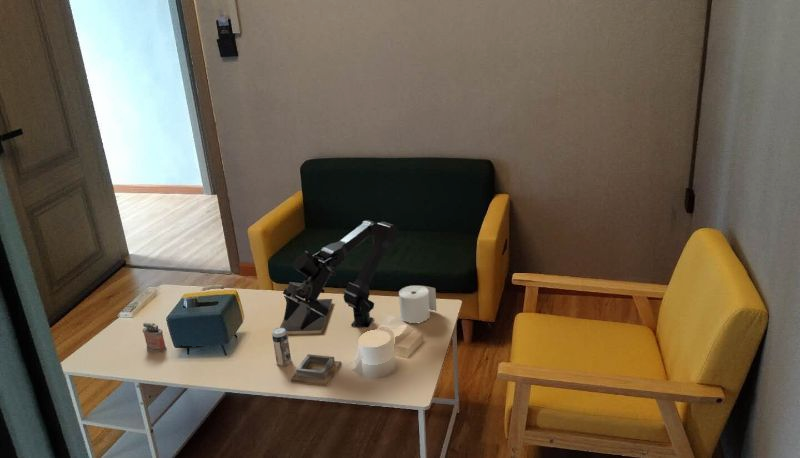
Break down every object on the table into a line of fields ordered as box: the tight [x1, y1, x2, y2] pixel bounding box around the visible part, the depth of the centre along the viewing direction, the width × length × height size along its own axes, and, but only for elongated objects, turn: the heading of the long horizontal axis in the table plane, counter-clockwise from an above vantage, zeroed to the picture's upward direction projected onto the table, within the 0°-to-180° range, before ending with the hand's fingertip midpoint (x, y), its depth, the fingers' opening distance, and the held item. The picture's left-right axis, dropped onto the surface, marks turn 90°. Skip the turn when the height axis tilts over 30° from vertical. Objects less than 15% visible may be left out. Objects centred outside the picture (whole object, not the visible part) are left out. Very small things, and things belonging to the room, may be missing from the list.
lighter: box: [142, 322, 167, 353], centre depth 214 cm, size 8×3×10 cm, turn 65°
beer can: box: [271, 327, 292, 367], centre depth 200 cm, size 5×5×12 cm
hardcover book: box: [279, 298, 333, 335], centre depth 229 cm, size 16×23×2 cm
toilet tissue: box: [398, 285, 437, 324], centre depth 223 cm, size 11×12×10 cm
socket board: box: [290, 353, 342, 387], centre depth 194 cm, size 12×12×4 cm
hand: (292, 324), depth 201 cm, fingers open, 9 cm apart
